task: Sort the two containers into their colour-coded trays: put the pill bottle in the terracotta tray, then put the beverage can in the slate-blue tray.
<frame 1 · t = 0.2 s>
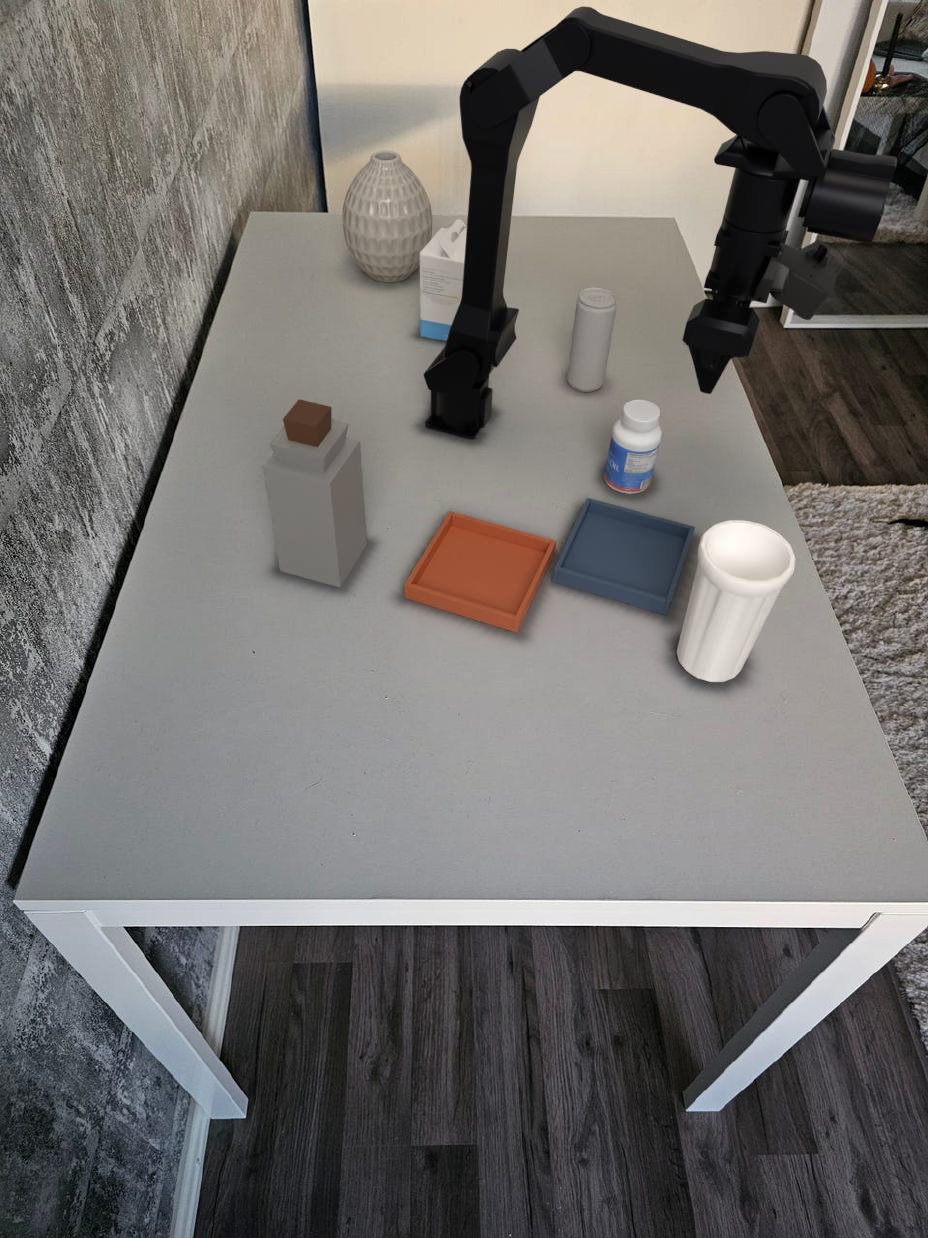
hand: (714, 368, 94), 15 cm above the table, tool pointing down, fingers open, 9 cm apart
perfume bottle: (324, 559, 95), on the table
cup: (708, 660, 87), on the table
pill bottle: (626, 481, 105), on the table
slate tray: (623, 560, 96), on the table
vase: (389, 273, 135), on the table
beverage can: (584, 384, 118), on the table
terracotta tray: (481, 575, 93), on the table
ink box: (458, 328, 126), on the table
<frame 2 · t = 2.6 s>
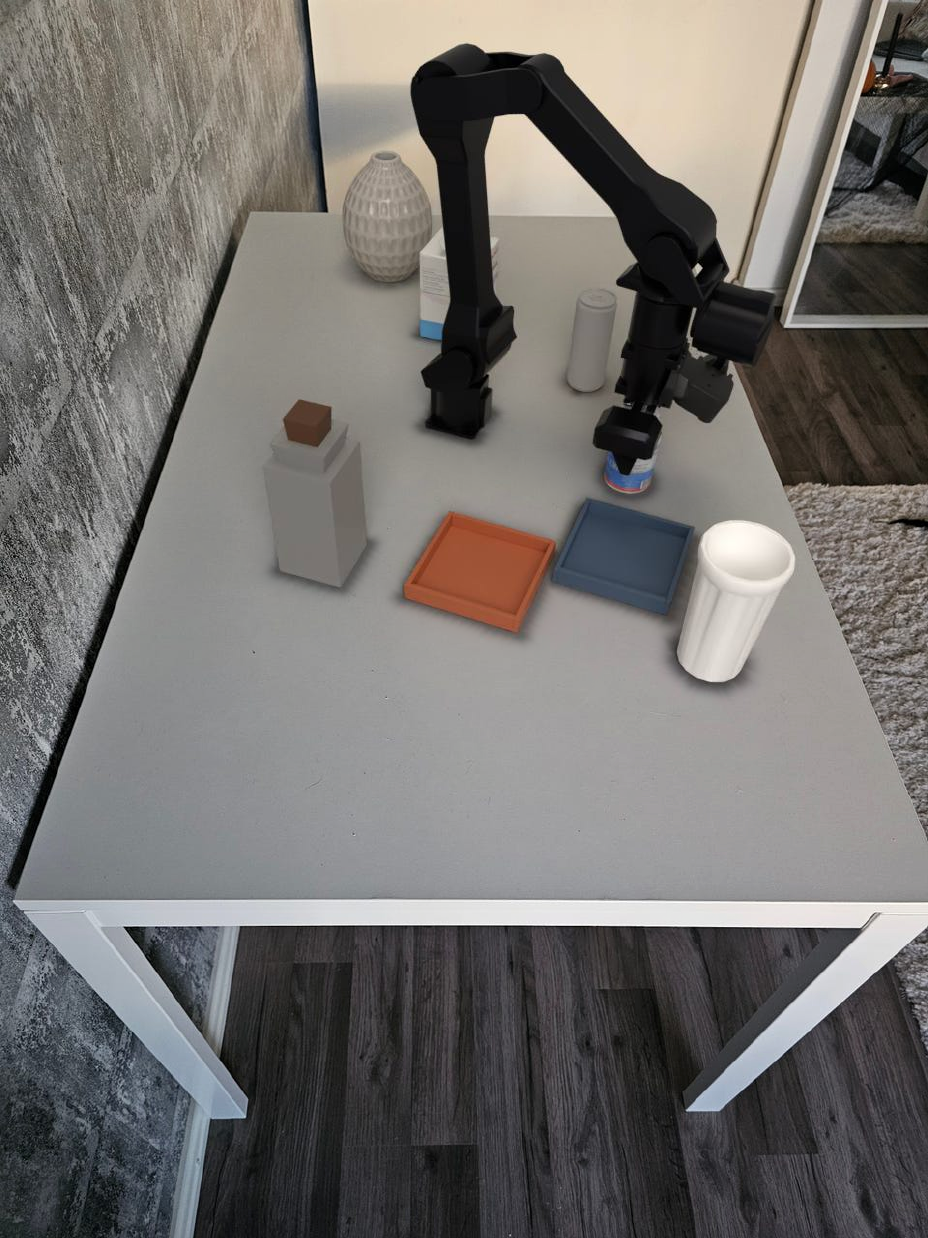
hand: (631, 459, 102), 3 cm above the table, tool pointing down, fingers closed on pill bottle, 5 cm apart
pill bottle: (626, 481, 105), on the table, touching gripper
everything else where it was.
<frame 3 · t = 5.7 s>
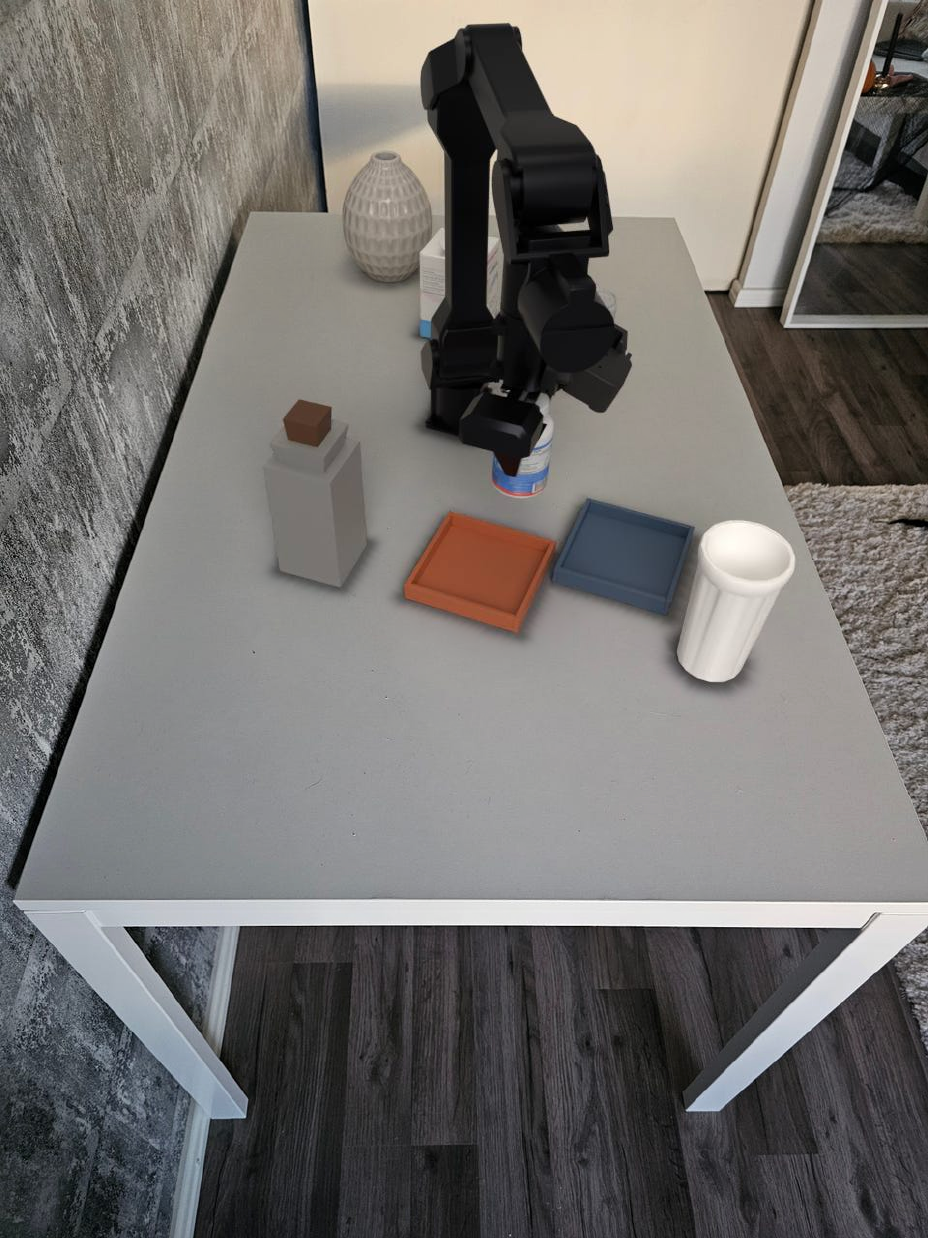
hand: (520, 457, 86), 13 cm above the table, tool pointing down, fingers closed on pill bottle, 5 cm apart
pill bottle: (518, 484, 88), point 10 cm above the table, touching gripper
everything else where it was.
when the fingers open (3 cm above the table, at t = 9.2 s): pill bottle stays where it is, resting on terracotta tray.
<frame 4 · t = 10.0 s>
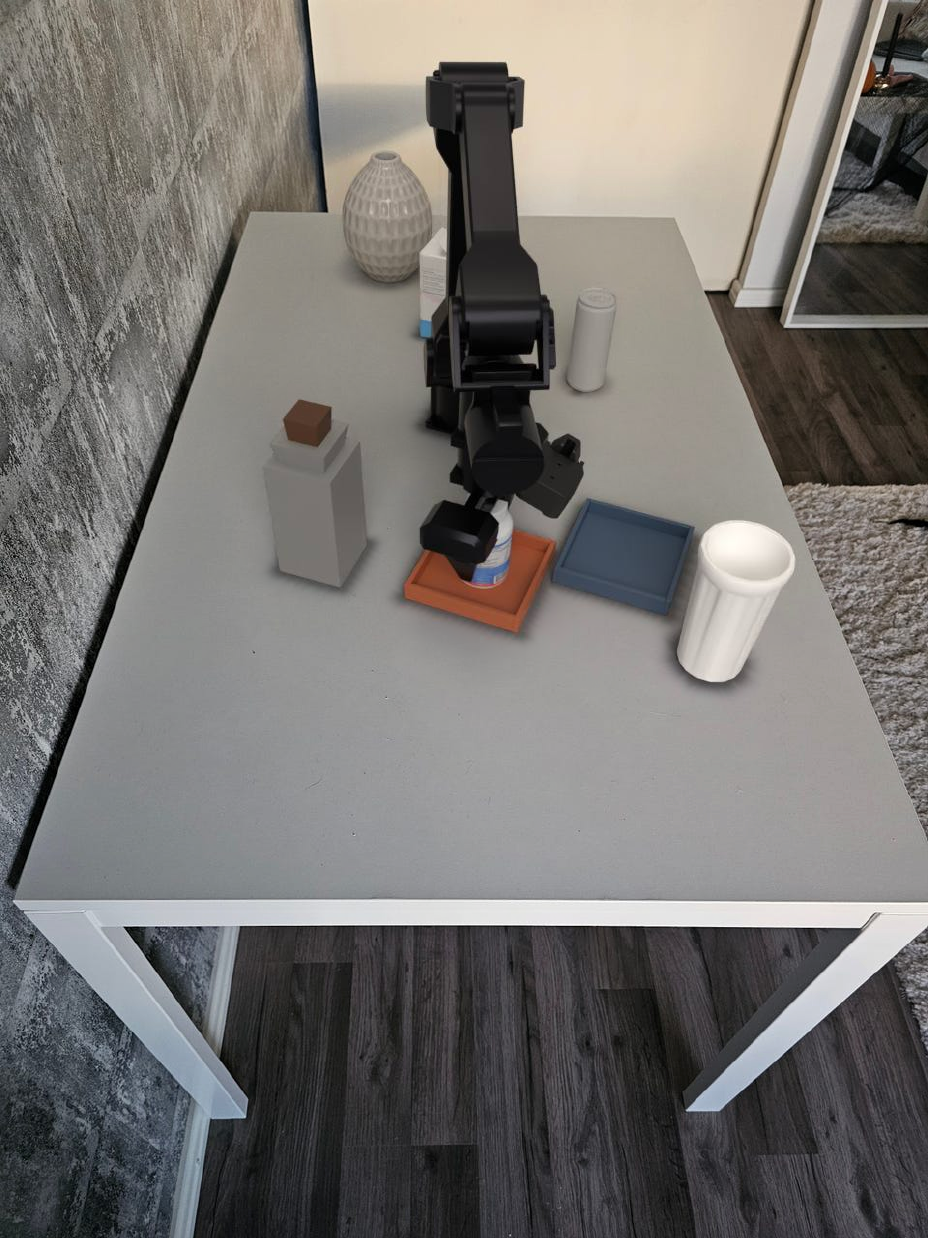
hand: (483, 549, 91), 4 cm above the table, tool pointing down, fingers open, 9 cm apart
pill bottle: (482, 573, 93), resting on terracotta tray
everything else where it was.
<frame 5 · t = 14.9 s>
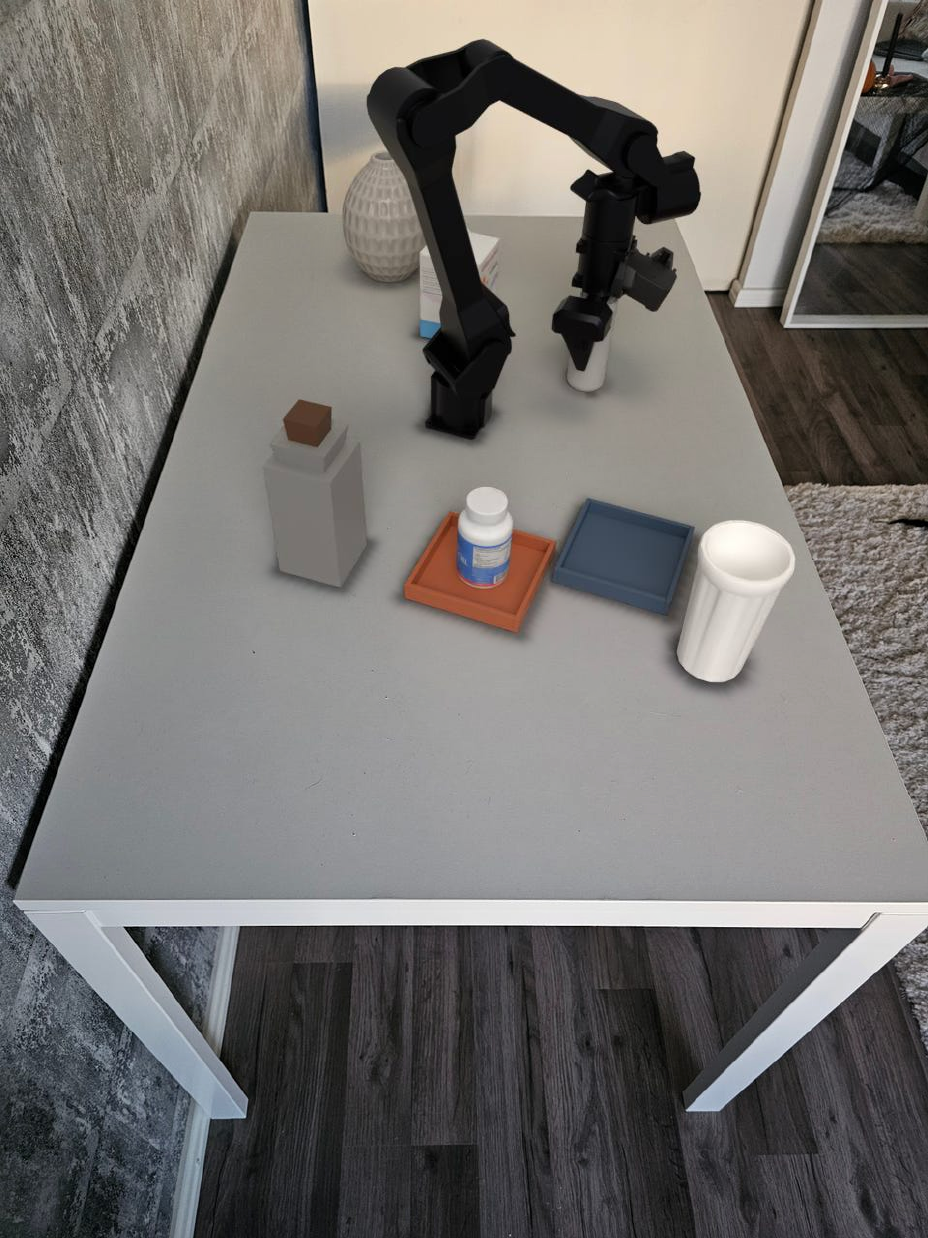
hand: (590, 353, 114), 4 cm above the table, tool pointing down
beverage can: (584, 384, 118), on the table, touching gripper
everything else where it was.
when the fingers open (5 cm above the table, at t = 22.6 s): beverage can stays where it is, resting on slate tray.
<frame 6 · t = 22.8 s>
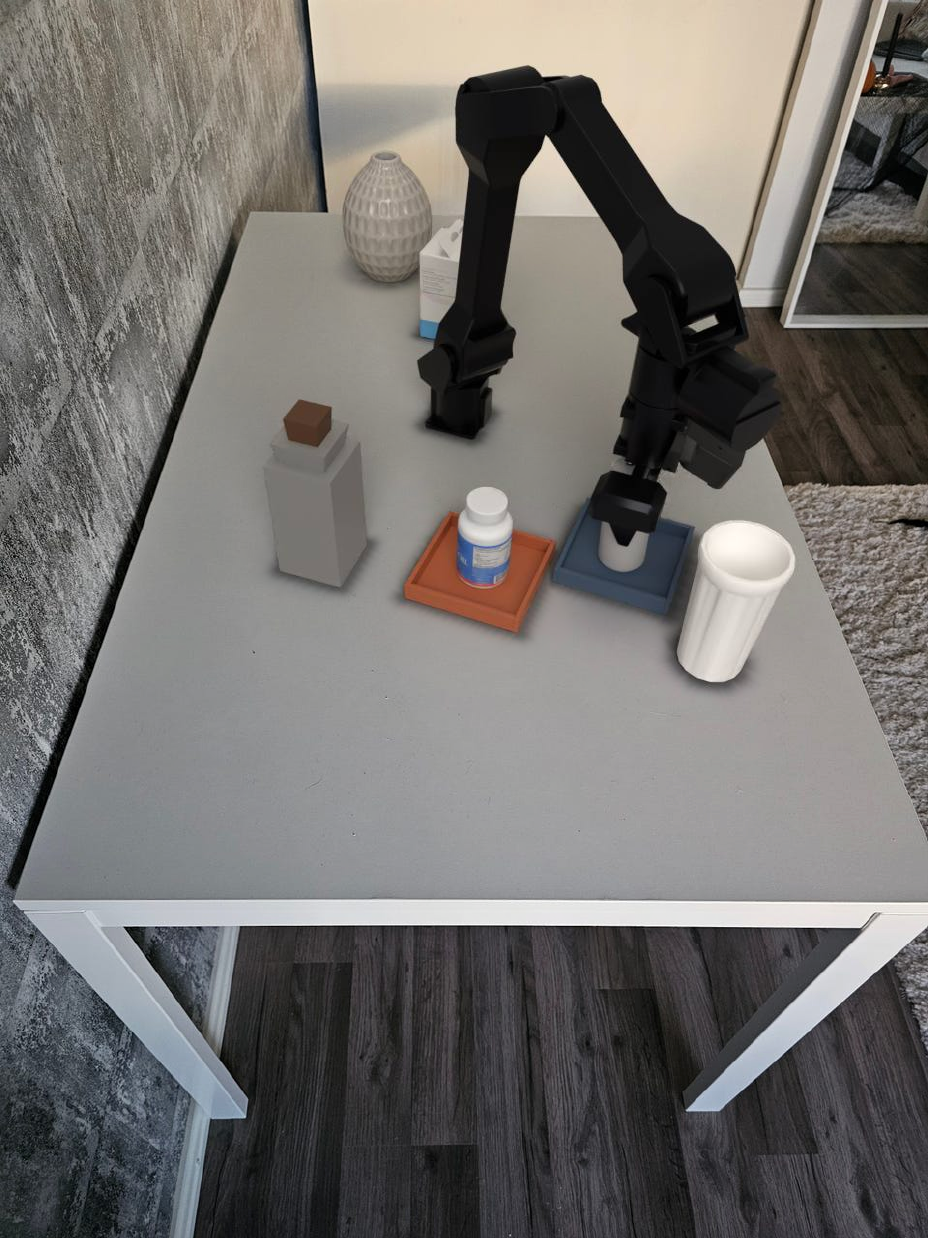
hand: (631, 523, 92), 5 cm above the table, tool pointing down, fingers open, 7 cm apart
beverage can: (620, 559, 95), resting on slate tray, touching gripper
everything else where it was.
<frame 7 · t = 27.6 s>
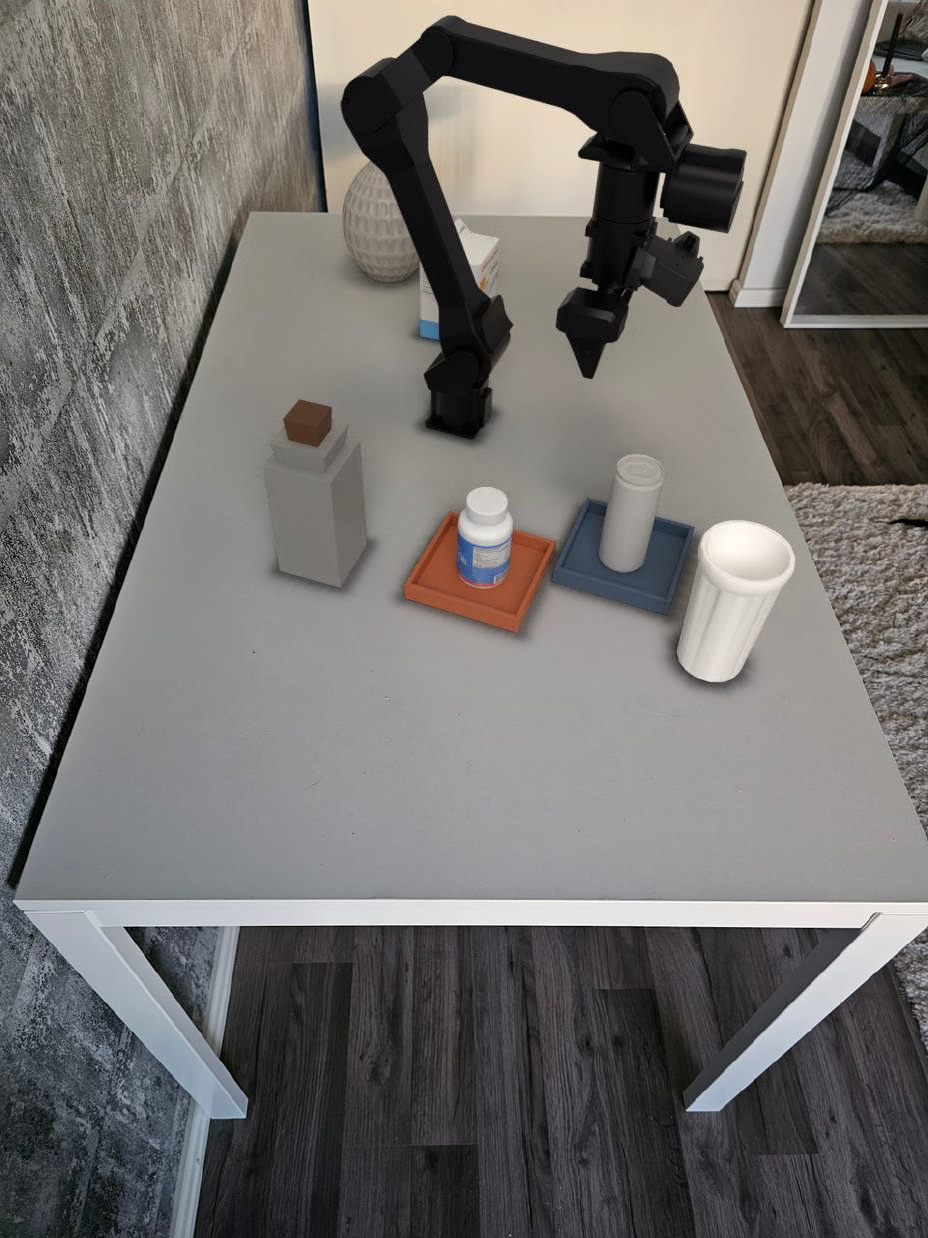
hand: (599, 355, 98), 13 cm above the table, tool pointing down, fingers open, 9 cm apart
beverage can: (620, 560, 95), resting on slate tray
everything else where it was.
at the end: pill bottle inside the target area in the terracotta tray (0.1 cm from its centre), point 0.2 cm above the terracotta tray's base; beverage can inside the target area in the slate tray (0.5 cm from its centre), point 0.2 cm above the slate tray's base; beverage can tilted 0° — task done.
